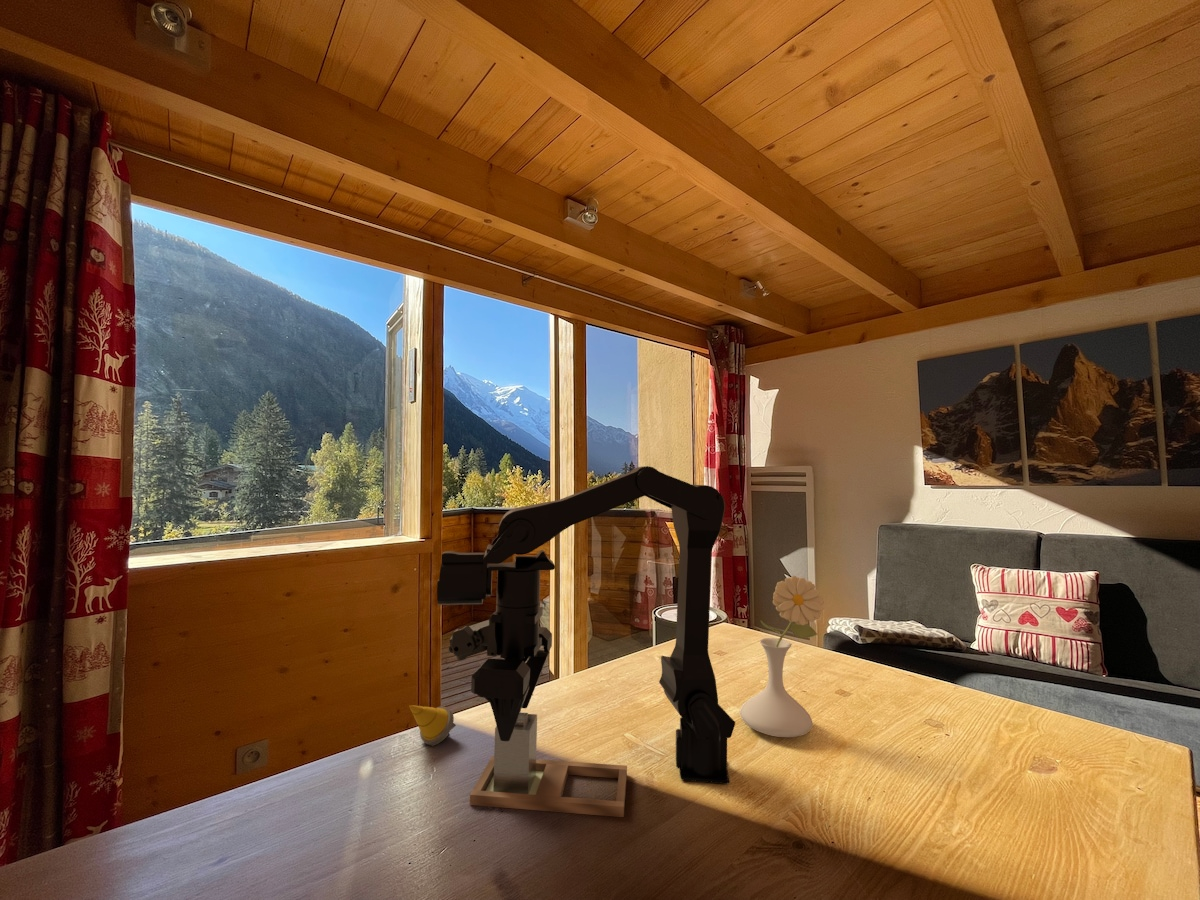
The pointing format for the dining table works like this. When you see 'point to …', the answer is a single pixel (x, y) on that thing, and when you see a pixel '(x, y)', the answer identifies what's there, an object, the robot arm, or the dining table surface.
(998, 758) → the dining table surface
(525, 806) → the wooden double frame
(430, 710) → the yellow and grey cone
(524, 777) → the grey tall block
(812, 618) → the flower in vase
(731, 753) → the dining table surface
